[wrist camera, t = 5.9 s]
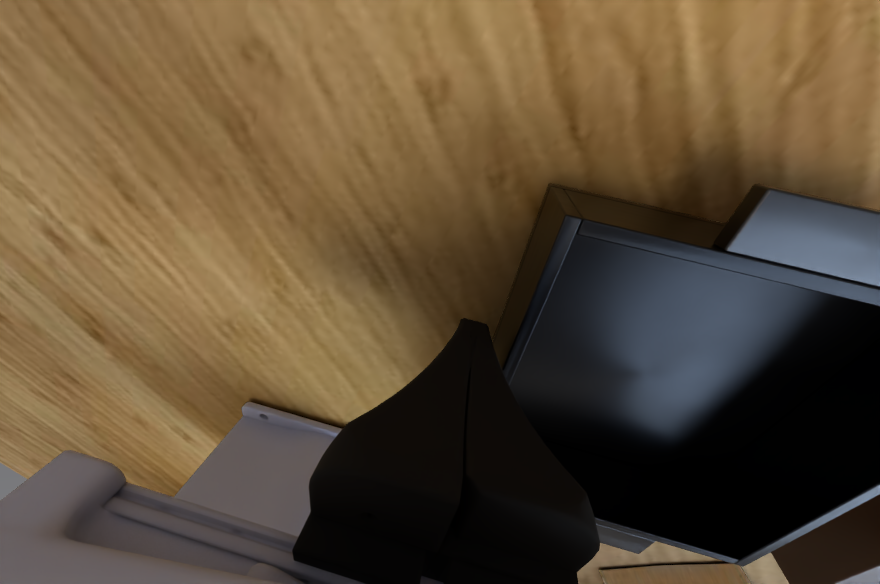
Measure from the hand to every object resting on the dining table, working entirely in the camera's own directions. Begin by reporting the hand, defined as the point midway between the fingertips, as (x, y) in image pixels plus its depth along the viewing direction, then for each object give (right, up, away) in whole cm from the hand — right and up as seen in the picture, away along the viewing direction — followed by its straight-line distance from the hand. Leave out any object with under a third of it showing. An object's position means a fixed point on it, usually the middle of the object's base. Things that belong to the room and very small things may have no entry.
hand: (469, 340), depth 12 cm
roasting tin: (+7, -1, +1) cm, 7 cm away
